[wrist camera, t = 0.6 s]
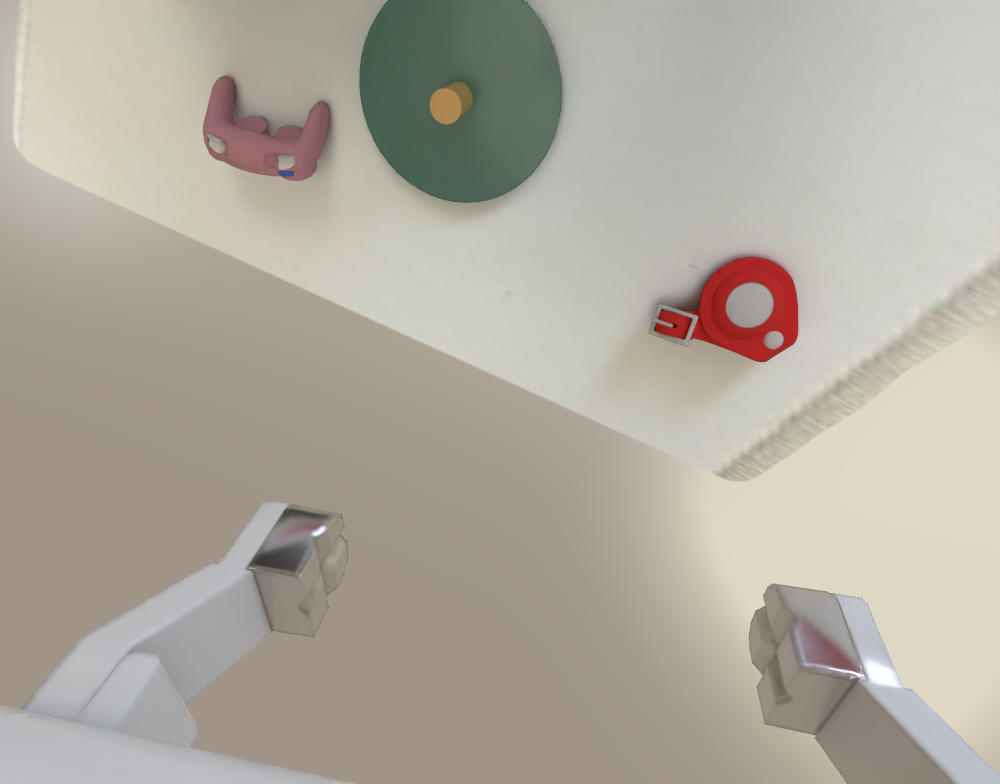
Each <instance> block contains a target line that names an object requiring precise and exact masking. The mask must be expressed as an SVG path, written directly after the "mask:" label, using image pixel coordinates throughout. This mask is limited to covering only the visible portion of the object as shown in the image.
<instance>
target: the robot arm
mask: <svg viewBox="0 0 1000 784" xmlns="http://www.w3.org/2000/svg"><path fill="white" fill-rule="evenodd" d="M343 528H344V521H343V517H342V514H339V513H334V512H329V511H324V510H319V509H314V508H308V507H303V506H298V505H293V504H287V503H281V502H275V501H269V500H268V501H266V502H265V503H263V504H262V505H261V506H260V507H259V508H258V510H257V511H256V512H255V514H254V515H253V516H252V518H251V519H250V521H249V522H248V524H247V525H246V526H245V528H244V529H243V530H242V532H241V533H240V535H239V536H238V537H237V539H236V540H235V542H234V543H233V544H232V546H231V547H230V549H229V550H228V551H227V553H226V554H225V556H224V557H223V559H222V560H221V561H220V563H219V564H212V563H211V564H209V565H207V566H206V567H204V568H202V569H201V570H199V571H197V572H195V573H193V574H192V575H190V576H188V577H186V578H185V579H183V580H181V581H179V582H177V583H176V584H174V585H172V586H170V587H169V588H167V589H165V590H164V591H162V592H160V593H158V594H156V595H155V596H153V597H151V598H149V599H148V600H146V601H144V602H142V603H141V604H139V605H137V606H135V607H134V608H132V609H130V610H128V611H127V612H125V613H123V614H122V615H120V616H118V617H116V618H114V619H113V620H111V621H109V622H107V623H105V624H104V625H102V626H100V627H99V628H97V629H95V630H93V631H92V632H90V633H88V634H86V635H84V636H83V637H81V639H80V640H79V641H78V642H77V643H76V644H75V646H74V647H73V648H72V649H71V650H70V652H69V653H68V654H67V655H66V656H65V657H64V659H63V660H62V661H61V662H60V663H59V664H58V666H57V667H56V668H55V669H54V670H53V672H52V673H51V674H50V675H49V676H48V677H47V679H46V680H45V681H44V682H43V683H42V685H41V686H40V687H39V688H38V689H37V691H36V692H35V693H34V694H33V695H32V696H31V698H30V699H29V700H28V701H27V702H26V703H25V705H24V706H23V707H22V708H21V709H16V708H12V707H7V706H3V705H0V784H355V783H350V782H346V781H341V780H337V779H332V778H327V777H323V776H319V775H314V774H310V773H305V772H301V771H296V770H291V769H287V768H282V767H278V766H274V765H269V764H265V763H260V762H256V761H251V760H247V759H242V758H237V757H233V756H229V755H224V754H219V753H215V752H210V751H205V750H201V749H197V748H192V747H191V746H192V744H193V743H194V741H195V739H196V737H197V735H198V730H197V725H196V724H195V722H194V720H193V718H192V716H191V715H190V713H189V711H188V709H187V707H186V704H187V703H188V702H190V701H191V700H192V699H193V698H195V697H196V696H197V695H198V694H199V693H201V692H202V691H203V690H204V689H205V688H206V687H208V686H209V685H210V684H211V683H213V682H214V681H215V680H216V679H218V678H219V677H220V676H221V675H222V674H224V673H225V672H226V671H227V670H228V669H230V668H231V667H232V666H233V665H234V664H236V663H237V662H238V661H239V660H241V659H242V658H243V657H244V656H245V655H247V654H248V653H249V652H250V651H251V650H253V649H254V648H255V647H256V646H258V645H259V644H260V643H261V642H262V641H263V640H265V639H266V638H267V637H268V636H270V635H271V634H272V631H277V632H282V633H289V634H295V635H302V636H307V637H313V638H314V637H315V635H316V633H317V630H318V628H319V626H320V624H321V622H322V620H323V618H324V616H325V614H326V612H327V610H328V608H329V606H328V601H327V595H328V594H330V593H331V592H333V591H334V590H336V589H337V588H338V587H339V585H340V583H341V580H342V578H343V576H344V573H345V569H346V565H347V561H348V544H347V541H346V540H345V539H344V538H343V537H342V535H341V532H342V530H343ZM763 597H764V601H765V606H764V607H762V608H760V609H758V610H756V611H755V614H754V616H753V618H752V621H751V626H750V632H749V646H750V653H751V659H752V663H753V664H754V665H755V666H756V668H757V669H758V670H759V671H760V672H761V674H762V675H763V676H762V678H761V680H760V682H759V683H758V685H757V690H758V695H759V699H760V704H761V710H762V715H763V719H764V724H766V725H771V726H776V727H780V728H785V729H790V730H794V731H798V732H803V733H808V734H812V735H816V737H815V739H816V740H817V742H818V743H819V744H820V746H821V747H822V749H823V750H824V751H825V753H826V754H827V756H828V757H829V759H830V760H831V761H832V763H833V764H834V766H835V767H836V768H837V770H838V771H839V773H840V774H841V776H842V777H843V778H844V780H845V781H846V783H847V784H1000V776H999V774H998V773H996V771H994V770H993V769H992V768H991V767H990V766H989V765H988V764H987V763H986V762H985V761H984V760H983V759H982V758H981V757H980V756H979V755H978V754H977V753H976V752H975V751H974V750H973V749H972V748H971V747H970V746H969V745H968V744H967V743H966V742H965V741H964V740H963V739H962V738H961V737H960V736H959V735H958V734H957V733H955V731H954V730H952V728H951V727H950V726H948V725H947V723H945V722H944V721H943V720H942V719H941V718H940V717H939V716H938V715H937V714H936V713H935V712H934V711H933V710H932V709H931V708H930V707H929V706H928V705H927V704H926V703H925V702H924V701H923V700H922V699H921V698H920V697H919V696H918V695H917V694H916V693H915V692H914V691H913V690H912V689H907V688H903V687H902V686H901V683H900V681H899V678H898V676H897V673H896V671H895V669H894V666H893V664H892V661H891V659H890V657H889V654H888V652H887V649H886V647H885V644H884V642H883V640H882V637H881V635H880V632H879V630H878V628H877V625H876V623H875V620H874V618H873V616H872V613H871V611H870V608H869V606H868V604H867V603H866V602H865V601H864V600H863V599H862V598H859V597H853V596H847V595H840V594H835V593H829V592H826V591H819V590H812V589H806V588H799V587H792V586H786V585H779V584H771V585H770V586H768V588H767V589H766V591H765V593H764V595H763Z"/></svg>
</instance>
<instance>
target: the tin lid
mask: <svg viewBox="0 0 1000 784" xmlns="http://www.w3.org/2000/svg"><path fill="white" fill-rule="evenodd" d="M360 94H361V102H362V107H363V112H364V116H365V119H366V122H367V125H368V128H369V130H370V132H371V135H372V137H373V139H374V141H375V143H376V145H377V146H378V148H379V150H380V151H381V153H382V155H383V156H384V157H385V159H386V160H387V161H388V163H389V164H390V165H391V166H392V167H393V168H394V169H395V170H396V171H397V173H398V174H400V175H401V176H402V177H403V178H404V179H405V180H407V181H408V182H409V183H410V184H412V185H413V186H415V187H416V188H418V189H420V190H422V191H424V192H426V193H428V194H429V195H432V196H435V197H438V198H440V199H444V200H448V201H453V202H465V203H468V202H480V201H485V200H490V199H493V198H496V197H498V196H501V195H503V194H505V193H507V192H509V191H511V190H513V189H514V188H515V187H517V186H518V185H520V184H521V183H522V182H523V181H525V180H526V179H527V178H528V177H529V176H530V175H531V174H532V173H533V172H534V170H535V169H536V168H537V167H538V166H539V164H540V163H541V161H542V160H543V158H544V157H545V155H546V153H547V152H548V149H549V147H550V145H551V143H552V141H553V139H554V136H555V133H556V130H557V126H558V122H559V117H560V112H561V101H562V85H561V75H560V69H559V63H558V60H557V56H556V53H555V49H554V47H553V44H552V42H551V40H550V37H549V35H548V33H547V31H546V30H545V28H544V26H543V24H542V23H541V21H540V19H539V18H538V17H537V15H536V14H535V13H534V11H533V10H532V9H531V8H530V7H529V6H528V5H527V3H526V2H525V1H524V0H389V1H388V2H387V3H386V4H385V5H384V7H383V8H382V9H381V11H380V12H379V14H378V15H377V17H376V19H375V20H374V22H373V24H372V26H371V28H370V30H369V33H368V36H367V38H366V41H365V44H364V48H363V52H362V57H361V65H360Z"/></svg>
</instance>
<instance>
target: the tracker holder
mask: <svg viewBox="0 0 1000 784" xmlns="http://www.w3.org/2000/svg"><path fill="white" fill-rule="evenodd" d="M663 309H665V310H663ZM651 320H652V323H651V326H650V329H649V334H652V335H655V336H658V337H660V338H663V339H666V340H669V341H672V342H675V343H677V344H680V345H683V346H688V343H689V341H690V340H691V339H693V338H695V339H699V340H703V341H706V342H709V343H712V344H714V345H717V346H720V347H723V348H725V349H728V350H731V351H733V352H736V353H738V354H740V355H743V356H745V357H747V358H749V359H752V360H754V361H757V362H766V361H768V360H769V359H771V358H772V357H774V356H775V355H777V354H779V353H780V352H782V351H783V350H785V349H787V348H788V347H790V346H791V345H793V344H794V343H795V341H796V339H797V336H798V303H797V294H796V289H795V286H794V282H793V280H792V278H791V276H790V275H789V274H788V272H787V271H786V270H785V269H783V268H782V267H781V266H780V265H778V264H776V263H775V262H772V261H770V260H767V259H763V258H757V257H748V258H741V259H737V260H734V261H732V262H729V263H727V264H725V265H724V266H722V267H721V268H719V269H718V270H717V271H716V272H715V273H714V274H713V275H712V276H711V277H710V278H709V280H708V281H707V282H706V284H705V286H704V288H703V290H702V293H701V296H700V300H699V309H698V310H696V311H681V310H677V309H674V308H671V307H668V306H665V305H662V304H659V305H658V307H657V310H656V312H655V315H654V318H652V319H651ZM655 331H657V332H655ZM666 335H668V336H666ZM669 336H672V337H676V338H680V339H685V341H681V340H678V339H675V338H672V337H669Z"/></svg>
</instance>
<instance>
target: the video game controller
mask: <svg viewBox="0 0 1000 784" xmlns="http://www.w3.org/2000/svg"><path fill="white" fill-rule="evenodd" d="M234 104H235V89H234V85H233V81H232V80H231V79H230V78H229V77H228V76H222V77H220V78H219V79H218V80H217V81H216V83H215V84H214V86H213V89H212V93H211V96H210V100H209V104H208V108H207V112H206V116H205V120H204V125H203V134H204V141H205V144H206V146H207V149H208V151H209V153H210V155H211V156H212V157H213V158H215V159H217V160H220V161H224V162H225V163H227V164H229V165H231V166H234V167H236V168H239V169H242V170H245V171H248V172H252V173H257V174H262V175H268V176H282V177H283V178H285V179H287V180H292V181H300V180H304V179H306V178H309V177H310V176H312V175H313V174H314V172H315V171H316V168H317V160H318V158H319V156H320V153H321V151H322V148H323V145H324V143H325V139H326V136H327V132H328V126H329V109H328V107H327V105H326V103H324V102H323V101H319V102H317V103H316V104H315V105H314V106H313V108H312V109H311V110H310V113H309V116H308V118H307V121H306V124H305V126H304V128H303V130H302V132H301V130H300V129H299V128H298V127H295V126H283V127H280V128H279V129H278V130H277V131H276V133H275V138H274V137H271V136H269V129H268V125H267V122H266V121H265V120H264V119H263V118H260V117H257V116H251V117H247V118H245V119H243V120H241V121H239V122H237V123H235V122H234V116H233V113H234Z"/></svg>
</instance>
